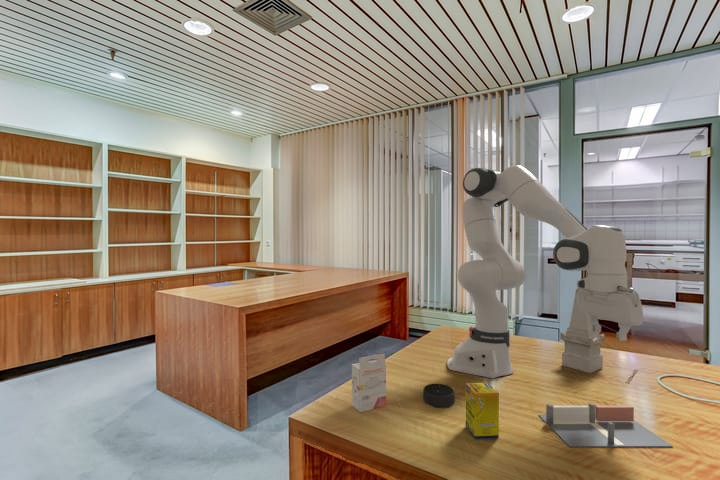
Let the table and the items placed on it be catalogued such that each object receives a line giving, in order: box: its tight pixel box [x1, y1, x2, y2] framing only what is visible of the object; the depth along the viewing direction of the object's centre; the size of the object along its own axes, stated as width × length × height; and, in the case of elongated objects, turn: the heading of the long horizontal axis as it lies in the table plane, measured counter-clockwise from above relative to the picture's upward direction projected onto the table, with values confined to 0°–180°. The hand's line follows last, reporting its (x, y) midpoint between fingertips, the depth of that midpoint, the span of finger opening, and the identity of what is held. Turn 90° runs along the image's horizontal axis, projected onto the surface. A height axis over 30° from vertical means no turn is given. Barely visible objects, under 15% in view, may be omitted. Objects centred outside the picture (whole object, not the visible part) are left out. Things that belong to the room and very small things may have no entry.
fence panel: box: [595, 405, 635, 421], centre depth 92 cm, size 9×1×4 cm, turn 90°
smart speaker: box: [422, 383, 456, 409], centre depth 105 cm, size 9×9×4 cm
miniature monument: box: [559, 287, 606, 374], centre depth 133 cm, size 10×10×30 cm
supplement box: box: [465, 382, 500, 441], centre depth 88 cm, size 6×6×11 cm
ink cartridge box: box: [351, 353, 387, 413], centre depth 102 cm, size 9×5×15 cm, turn 118°
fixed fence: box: [545, 402, 614, 444], centre depth 88 cm, size 12×10×5 cm
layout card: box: [538, 414, 674, 448], centre depth 89 cm, size 23×14×1 cm, turn 90°
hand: (608, 335), depth 99 cm, fingers open, 8 cm apart
